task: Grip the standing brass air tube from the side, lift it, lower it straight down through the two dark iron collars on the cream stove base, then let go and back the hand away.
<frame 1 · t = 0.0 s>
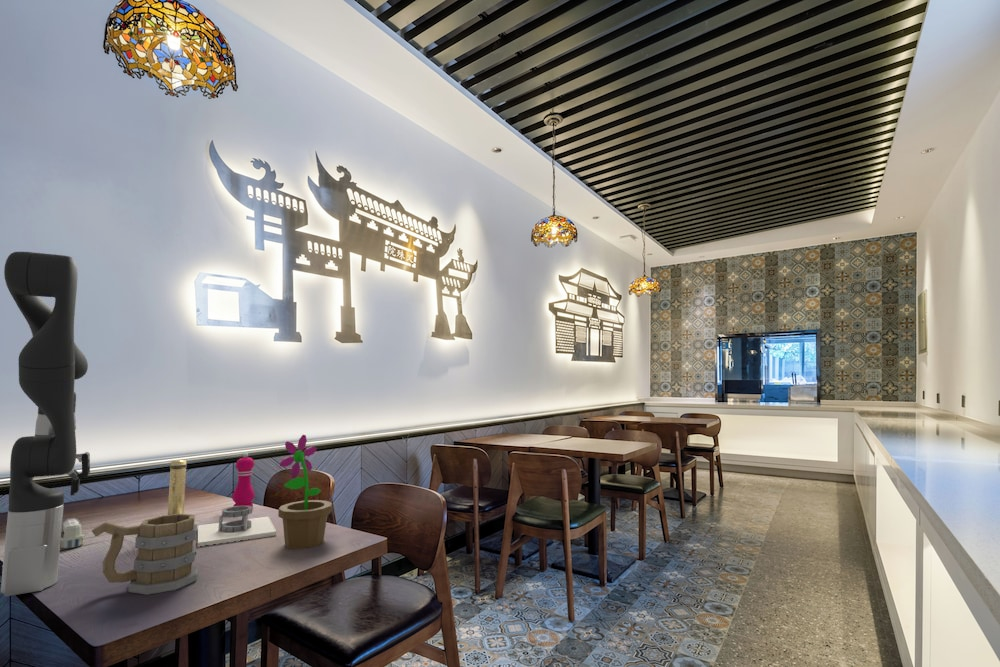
hand: (50, 496, 123), 17 cm above the table, tool pointing down, fingers open, 8 cm apart
pepper mill: (243, 509, 180), on the table
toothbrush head: (70, 540, 145), on the table
tankard: (144, 587, 110), on the table
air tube: (174, 536, 147), on the table
stove base: (236, 532, 150), on the table
flowerpot: (304, 543, 140), on the table
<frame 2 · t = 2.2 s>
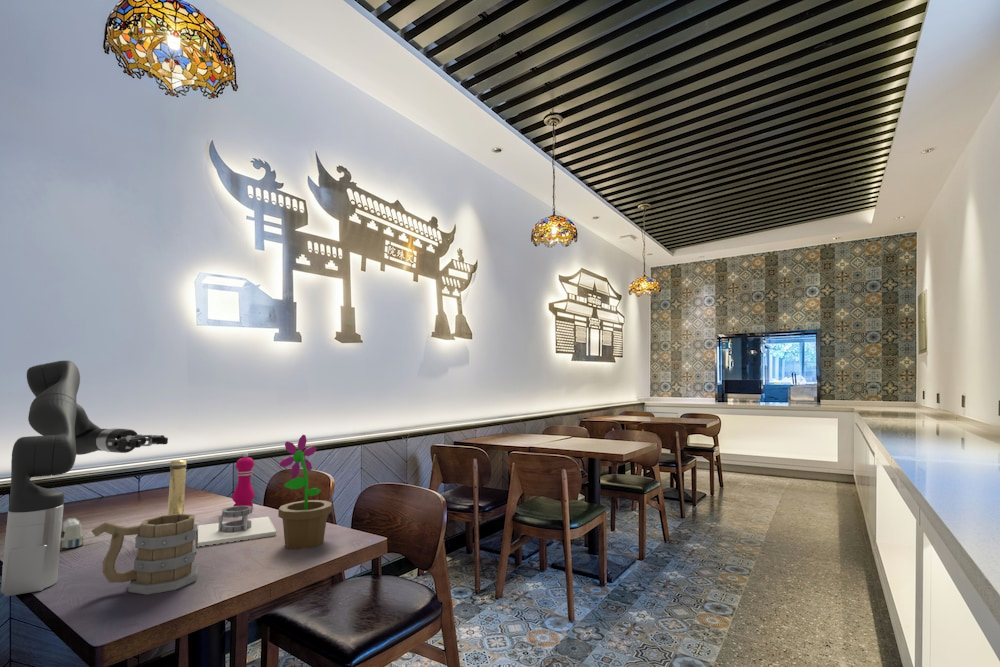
hand: (153, 442, 154), 27 cm above the table, tool horizontal, fingers open, 8 cm apart
nothing on the table moved.
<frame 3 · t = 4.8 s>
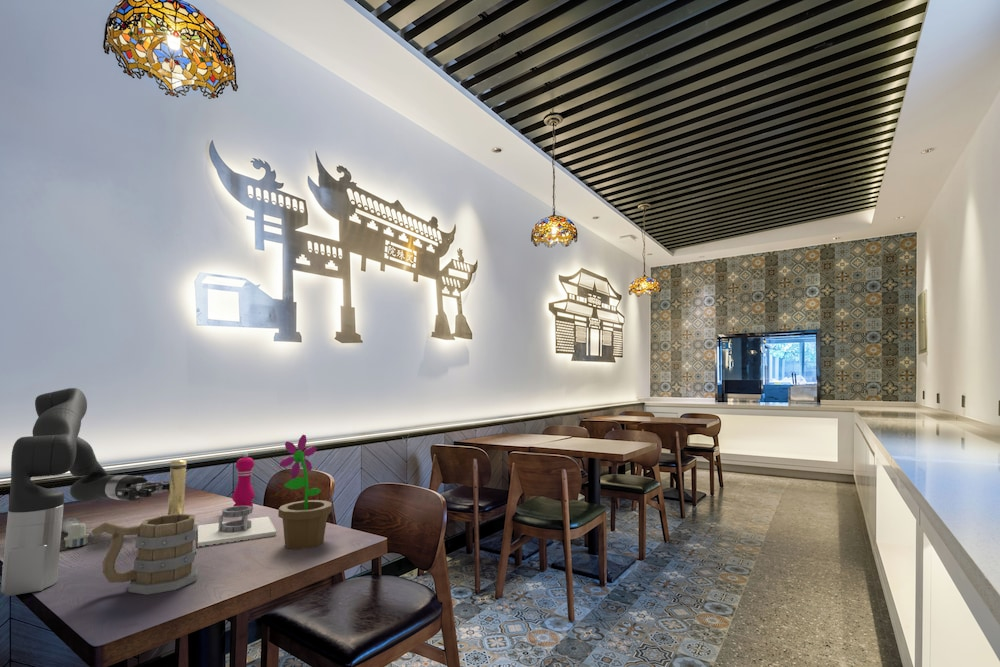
hand: (164, 490, 150), 13 cm above the table, tool horizontal, fingers open, 8 cm apart
nothing on the table moved.
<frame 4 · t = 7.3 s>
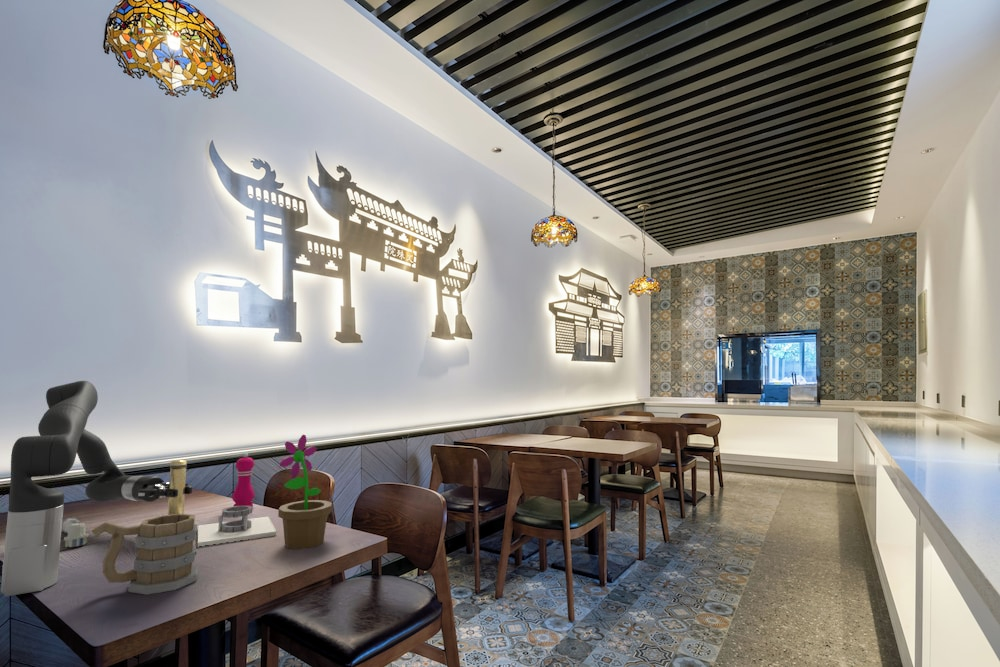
hand: (183, 491, 148), 13 cm above the table, tool horizontal, fingers closed on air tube, 4 cm apart
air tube: (174, 536, 147), on the table, touching gripper
everything else where it was.
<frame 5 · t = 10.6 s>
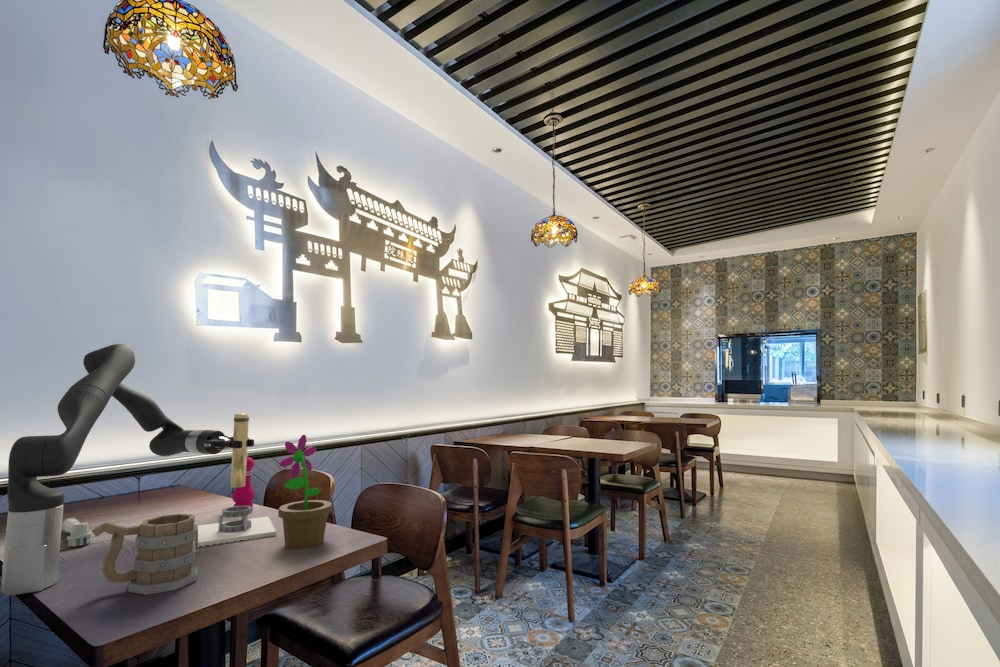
hand: (247, 443, 152), 27 cm above the table, tool horizontal, fingers closed on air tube, 4 cm apart
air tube: (238, 486, 152), point 14 cm above the table, touching gripper
everything else where it was.
when the fingers open (15 cm above the table, at t = 13.9 s): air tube drops 1 cm, resting on stove base.
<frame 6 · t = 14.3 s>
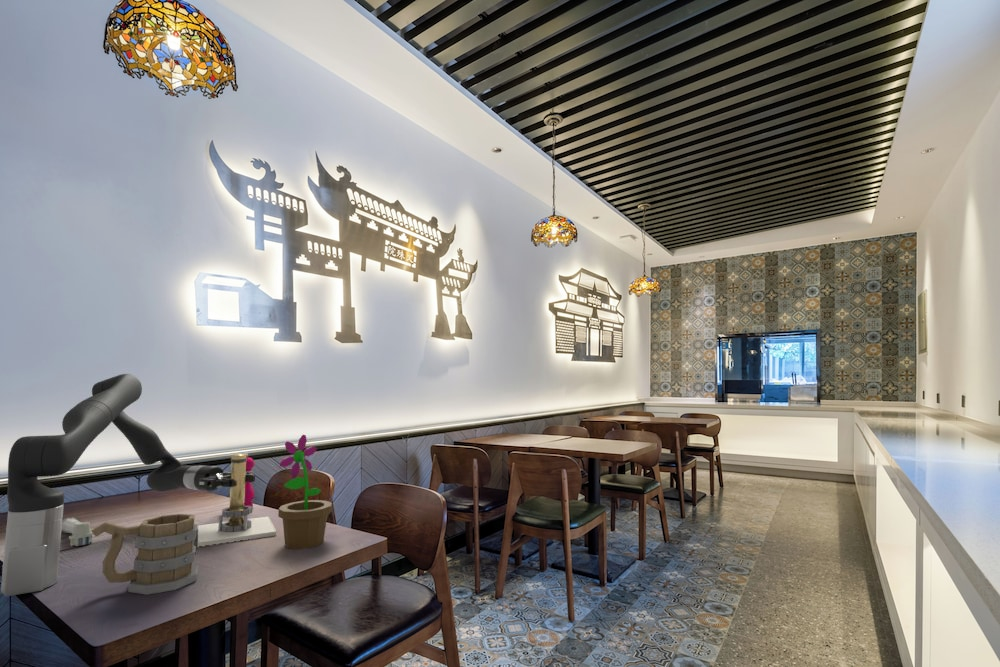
hand: (243, 480, 151), 16 cm above the table, tool horizontal, fingers open, 7 cm apart
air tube: (235, 528, 151), point 1 cm above the table, touching stove base
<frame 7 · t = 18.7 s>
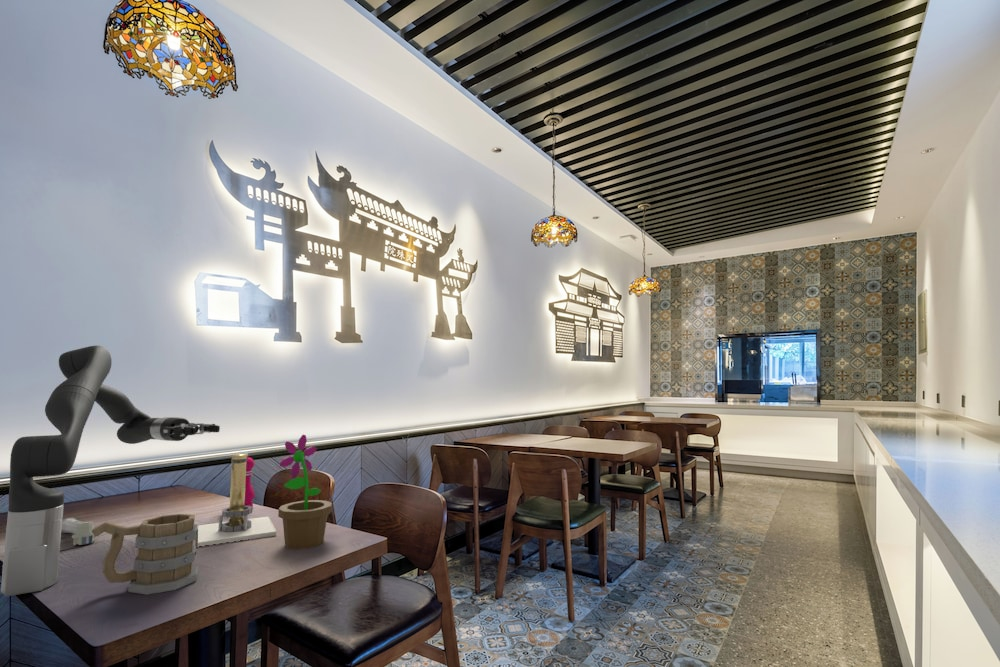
hand: (207, 429, 157), 31 cm above the table, tool horizontal, fingers open, 8 cm apart
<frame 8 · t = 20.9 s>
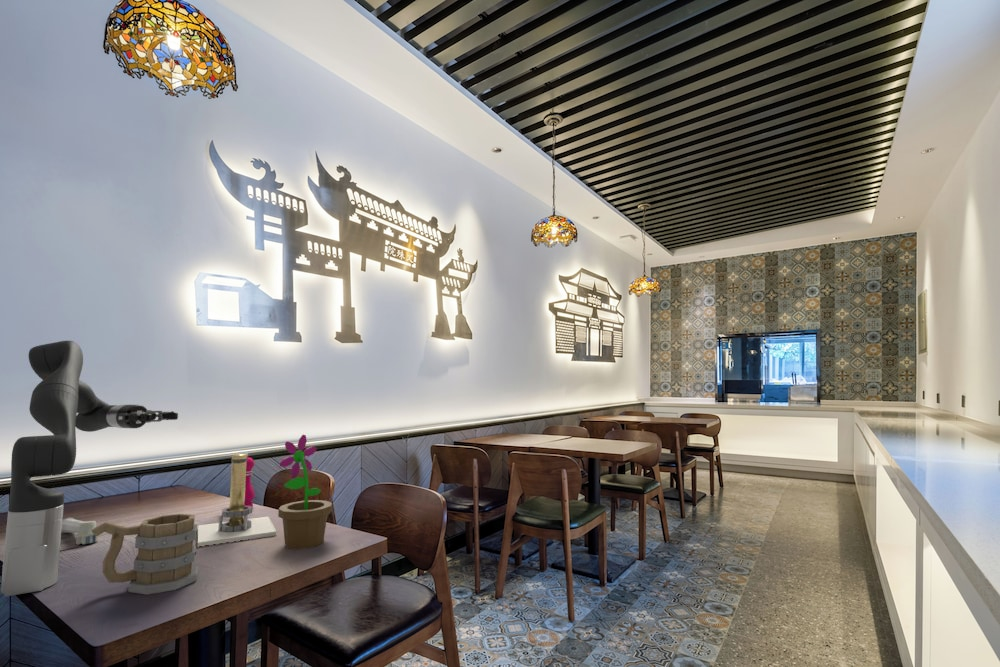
hand: (163, 417, 154), 35 cm above the table, tool horizontal, fingers open, 8 cm apart
at the end: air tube 0.1 cm off-centre on the stove base, point 1.2 cm above the stove base's base; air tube tilted 0°; the gripper is holding nothing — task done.
